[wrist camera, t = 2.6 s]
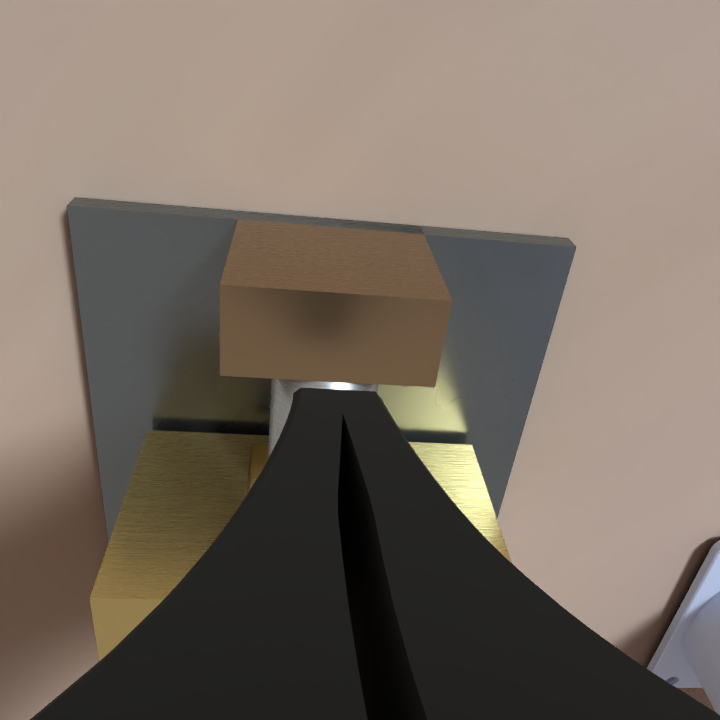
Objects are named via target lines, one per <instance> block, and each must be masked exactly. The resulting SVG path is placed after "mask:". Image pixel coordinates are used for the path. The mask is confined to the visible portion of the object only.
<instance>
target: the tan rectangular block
mask: <svg viewBox="0 0 720 720" xmlns="http://www.w3.org/2000/svg"><path fill="white" fill-rule="evenodd" d="M268 444H269V436H266V435H244V434H222V433H200V432H178V431H156V430H147V433H146V436H145V439H144V442H143V445H142V448H141V451H140V454H139V457H138V459H137V462H136V465H135V468H134V471H133V474H132V477H131V480H130V483H129V485H128V488H127V491H126V494H125V497H124V500H123V503H122V506H121V509H120V511H119V514H118V517H117V520H116V523H115V526H114V529H113V532H112V535H111V538H110V540H109V543H108V546H107V549H106V552H105V555H104V558H103V561H102V564H101V566H100V569H99V572H98V575H97V578H96V581H95V584H94V587H93V590H92V593H91V595H90V605H91V611H92V618H93V625H94V631H95V638H96V644H97V651H98V658H99V661H100V660H102V659H103V658H104V657H105V656H106V655H107V654H108V653H109V652H110V651H111V650H113V649H114V648H115V647H116V646H117V645H118V644H119V643H120V642H121V641H122V640H123V639H124V638H125V637H126V636H127V635H128V634H129V633H130V632H131V631H132V630H133V629H134V628H135V627H136V626H137V625H138V624H139V623H140V622H141V621H142V620H143V619H144V618H145V617H146V616H148V615H149V614H150V613H151V612H152V611H153V610H154V609H155V608H156V607H157V606H158V605H159V604H160V603H161V602H162V601H163V600H164V599H165V598H166V596H167V595H168V594H169V593H170V592H171V591H172V590H173V589H174V588H175V587H176V586H177V585H178V583H179V582H180V581H181V580H182V579H183V578H184V577H185V575H186V574H187V573H188V572H189V571H190V570H191V568H192V567H193V566H194V565H195V564H196V563H197V561H198V560H199V559H200V558H201V557H202V556H203V554H204V553H205V552H206V551H207V550H208V548H209V547H210V546H211V545H212V543H213V542H214V541H215V539H216V538H217V537H218V535H219V534H220V533H221V532H222V530H223V529H224V528H225V526H226V525H227V523H228V522H229V521H230V519H231V518H232V516H233V515H234V514H235V512H236V511H237V509H238V508H239V506H240V505H241V503H242V502H243V500H244V499H245V497H246V495H247V494H248V492H249V491H250V489H251V487H252V486H253V484H254V483H255V481H256V479H257V478H258V476H259V475H260V473H261V471H262V470H263V468H264V466H265V464H266V462H267V460H268ZM409 444H410V445H411V447H412V448H413V450H414V451H415V452H416V454H417V455H418V457H419V458H420V459H421V461H422V462H423V463H424V465H425V466H426V467H427V469H428V470H429V471H430V473H431V474H432V476H433V477H434V478H435V480H436V481H437V482H438V483H439V485H440V486H441V487H442V488H443V490H444V491H445V492H446V494H447V495H448V496H449V497H450V498H451V499H452V501H453V502H454V503H455V504H456V505H457V507H458V508H459V509H460V510H461V511H462V513H463V514H464V515H465V516H466V517H467V518H468V519H469V520H470V522H471V523H472V524H473V525H474V526H475V527H476V528H477V529H478V530H479V531H480V533H481V534H482V535H483V536H484V537H485V538H486V539H487V540H488V541H489V542H490V543H491V544H492V545H493V546H494V547H495V548H496V549H497V550H498V551H499V552H500V553H501V554H502V555H503V556H504V557H505V558H506V559H507V560H508V561H510V562H511V559H510V556H509V553H508V550H507V548H506V545H505V542H504V539H503V536H502V533H501V530H500V527H499V524H498V521H497V518H496V515H495V512H494V509H493V506H492V503H491V500H490V497H489V494H488V491H487V488H486V485H485V482H484V479H483V476H482V473H481V470H480V467H479V464H478V461H477V458H476V455H475V452H474V449H473V446H472V445H465V444H443V443H421V442H409ZM511 563H512V562H511Z"/></svg>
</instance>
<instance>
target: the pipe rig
mask: <svg viewBox="0 0 720 720" xmlns="http://www.w3.org/2000/svg"><path fill="white" fill-rule="evenodd" d="M67 211H68V219H69V227H70V236H71V244H72V252H73V260H74V268H75V276H76V285H77V293H78V301H79V309H80V317H81V326H82V334H83V342H84V350H85V358H86V367H87V375H88V383H89V391H90V399H91V408H92V416H93V424H94V432H95V440H96V448H97V457H98V465H99V473H100V481H101V489H102V498H103V506H104V514H105V522H106V530H107V539H108V543H109V540H110V538H111V535H112V532H113V529H114V526H115V523H116V520H117V517H118V514H119V511H120V509H121V506H122V503H123V500H124V497H125V494H126V491H127V488H128V485H129V483H130V480H131V477H132V474H133V471H134V468H135V465H136V462H137V459H138V457H139V454H140V451H141V448H142V445H143V442H144V439H145V436H146V433H147V430H156V431H178V432H200V433H222V434H244V435H266V436H269V444H268V458H269V456H270V454H271V452H272V451H273V449H274V447H275V445H276V443H277V441H278V439H279V437H280V434H281V432H282V430H283V427H284V425H285V423H286V420H287V417H288V415H289V412H290V408H291V405H292V401H293V393H294V392H295V391H297V390H298V389H300V388H320V389H339V390H359V391H375V392H376V393H377V394H378V395H379V396H380V397H381V399H382V401H383V402H384V404H385V406H386V408H387V409H388V411H389V413H390V414H391V416H392V418H393V419H394V421H395V422H396V424H397V426H398V427H399V429H400V430H401V432H402V433H403V435H404V436H405V438H406V439H407V441H408V442H421V443H443V444H465V445H472V446H473V449H474V452H475V455H476V458H477V461H478V464H479V467H480V470H481V473H482V476H483V479H484V482H485V485H486V488H487V491H488V494H489V497H490V500H491V503H492V506H493V509H494V512H495V515H496V518H497V517H498V514H499V510H500V507H501V504H502V500H503V497H504V493H505V490H506V486H507V483H508V480H509V476H510V473H511V469H512V466H513V462H514V459H515V456H516V452H517V449H518V445H519V442H520V438H521V435H522V432H523V428H524V425H525V421H526V418H527V414H528V411H529V408H530V404H531V401H532V397H533V394H534V390H535V387H536V384H537V380H538V377H539V373H540V370H541V366H542V363H543V360H544V356H545V353H546V349H547V346H548V342H549V339H550V336H551V332H552V329H553V325H554V322H555V318H556V315H557V312H558V308H559V305H560V301H561V298H562V294H563V291H564V288H565V284H566V281H567V277H568V274H569V270H570V267H571V264H572V260H573V257H574V253H575V250H576V246H575V245H574V244H573V243H572V242H571V241H570V240H569V239H568V238H560V237H548V236H536V235H523V234H511V233H499V232H487V231H475V230H463V229H451V228H439V227H427V226H415V225H403V224H391V223H378V222H366V221H354V220H342V219H330V218H318V217H306V216H294V215H282V214H270V213H258V212H245V211H233V210H221V209H209V208H197V207H185V206H173V205H161V204H149V203H137V202H125V201H112V200H100V199H88V198H76V197H75V198H74V199H73V200H72V201H71V202H70V203H69V204H68V205H67Z"/></svg>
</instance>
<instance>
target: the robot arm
mask: <svg viewBox="0 0 720 720" xmlns="http://www.w3.org/2000/svg"><path fill="white" fill-rule="evenodd" d="M678 688H703V690H704V691H705V693H706V695H707V697H708V699H709V701H710V703H711V704H712V706H713V708H714V710H715V712H716V713H715V712H714V711H712V710H711V709H709V708H708V707H706V706H704V705H703V704H701V703H700V702H698V701H697V700H695V699H693V698H692V697H690V696H689V695H687V694H686V693H684V692H682V691H681V690H679V689H678ZM30 720H720V540H719V541H718V542H716V543H715V544H714V545H713V546H712V547H711V549H710V551H709V553H708V555H707V557H706V559H705V560H704V562H703V564H702V566H701V568H700V570H699V572H698V574H697V575H696V577H695V579H694V581H693V583H692V585H691V587H690V588H689V590H688V592H687V594H686V596H685V598H684V600H683V602H682V603H681V605H680V607H679V609H678V611H677V613H676V615H675V617H674V618H673V620H672V622H671V624H670V626H669V628H668V630H667V632H666V633H665V635H664V637H663V639H662V641H661V643H660V645H659V647H658V648H657V650H656V652H655V654H654V656H653V658H652V660H651V662H650V663H649V665H648V667H647V669H646V668H645V667H643V666H642V665H640V664H639V663H637V662H636V661H634V660H633V659H631V658H630V657H629V656H627V655H626V654H624V653H623V652H622V651H620V650H619V649H617V648H616V647H615V646H613V645H612V644H611V643H609V642H608V641H606V640H605V639H604V638H602V637H601V636H599V635H598V634H597V633H595V632H594V631H593V630H591V629H590V628H588V627H587V626H586V625H585V624H583V623H582V622H581V621H579V620H578V619H577V618H576V617H574V616H573V615H572V614H570V613H569V612H568V611H567V610H565V609H564V608H563V607H562V606H560V605H559V604H558V603H557V602H556V601H554V600H553V599H552V598H551V597H550V596H549V595H547V594H546V593H545V592H544V591H543V590H541V589H540V588H539V587H538V586H537V585H535V584H534V583H533V582H532V581H531V580H530V579H528V578H527V577H526V576H525V575H524V574H523V573H522V572H521V571H519V570H518V569H517V568H516V567H515V566H514V565H513V564H512V563H511V562H510V561H508V560H507V559H506V558H505V557H504V556H503V555H502V554H501V553H500V552H499V551H498V550H497V549H496V548H495V547H494V546H493V545H492V544H491V543H490V542H489V541H488V540H487V539H486V538H485V537H484V536H483V535H482V534H481V533H480V531H479V530H478V529H477V528H476V527H475V526H474V525H473V524H472V523H471V522H470V520H469V519H468V518H467V517H466V516H465V515H464V514H463V513H462V511H461V510H460V509H459V508H458V507H457V505H456V504H455V503H454V502H453V501H452V499H451V498H450V497H449V496H448V495H447V494H446V492H445V491H444V490H443V488H442V487H441V486H440V485H439V483H438V482H437V481H436V480H435V478H434V477H433V476H432V474H431V473H430V471H429V470H428V469H427V467H426V466H425V465H424V463H423V462H422V461H421V459H420V458H419V457H418V455H417V454H416V452H415V451H414V450H413V448H412V447H411V445H410V444H409V442H408V441H407V439H406V438H405V436H404V435H403V433H402V432H401V430H400V429H399V427H398V426H397V424H396V422H395V421H394V419H393V418H392V416H391V414H390V413H389V411H388V409H387V408H386V406H385V404H384V402H383V401H382V399H381V397H380V396H379V395H378V394H377V393H376V392H375V391H359V390H339V389H320V388H300V389H298V390H297V391H295V392H294V393H293V401H292V405H291V408H290V412H289V415H288V417H287V420H286V423H285V425H284V427H283V430H282V432H281V434H280V437H279V439H278V441H277V443H276V445H275V447H274V449H273V451H272V452H271V454H270V456H269V458H268V460H267V462H266V464H265V466H264V468H263V470H262V471H261V473H260V475H259V476H258V478H257V479H256V481H255V483H254V484H253V486H252V487H251V489H250V491H249V492H248V494H247V495H246V497H245V499H244V500H243V502H242V503H241V505H240V506H239V508H238V509H237V511H236V512H235V514H234V515H233V516H232V518H231V519H230V521H229V522H228V523H227V525H226V526H225V528H224V529H223V530H222V532H221V533H220V534H219V535H218V537H217V538H216V539H215V541H214V542H213V543H212V545H211V546H210V547H209V548H208V550H207V551H206V552H205V553H204V554H203V556H202V557H201V558H200V559H199V560H198V561H197V563H196V564H195V565H194V566H193V567H192V568H191V570H190V571H189V572H188V573H187V574H186V575H185V577H184V578H183V579H182V580H181V581H180V582H179V583H178V585H177V586H176V587H175V588H174V589H173V590H172V591H171V592H170V593H169V594H168V595H167V596H166V598H165V599H164V600H163V601H162V602H161V603H160V604H159V605H158V606H157V607H156V608H155V609H154V610H153V611H152V612H151V613H150V614H149V615H148V616H146V617H145V618H144V619H143V620H142V621H141V622H140V623H139V624H138V625H137V626H136V627H135V628H134V629H133V630H132V631H131V632H130V633H129V634H128V635H127V636H126V637H125V638H124V639H123V640H122V641H121V642H120V643H119V644H118V645H117V646H116V647H115V648H114V649H113V650H111V651H110V652H109V653H108V654H107V655H106V656H105V657H104V658H103V659H102V660H100V661H99V662H98V663H97V664H96V665H95V666H94V667H92V668H91V669H90V670H89V671H88V672H86V673H85V674H84V675H83V676H82V677H80V678H79V679H78V680H77V681H76V682H74V683H73V684H72V685H71V686H70V687H68V688H67V689H66V690H65V691H64V692H63V693H61V694H60V695H59V696H58V697H57V698H55V699H54V700H53V701H52V702H51V703H49V704H48V705H47V706H46V707H45V708H43V709H42V710H41V711H40V712H39V713H37V714H36V715H35V716H34V717H33V718H31V719H30Z"/></svg>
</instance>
